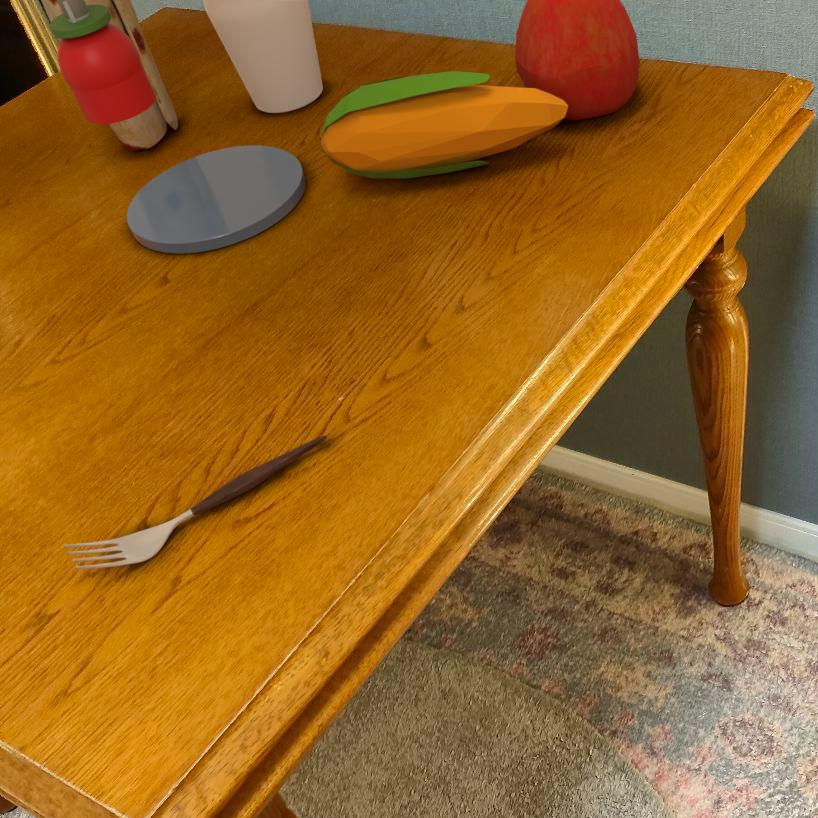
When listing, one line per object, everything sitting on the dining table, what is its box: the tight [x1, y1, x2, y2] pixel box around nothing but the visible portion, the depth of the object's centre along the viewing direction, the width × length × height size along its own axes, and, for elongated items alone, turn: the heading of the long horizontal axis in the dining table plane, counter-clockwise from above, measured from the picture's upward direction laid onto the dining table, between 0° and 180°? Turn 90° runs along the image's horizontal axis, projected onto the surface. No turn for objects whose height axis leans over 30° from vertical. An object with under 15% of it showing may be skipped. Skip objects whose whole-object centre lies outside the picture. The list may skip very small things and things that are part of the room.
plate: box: [126, 144, 307, 255], centre depth 84 cm, size 15×15×1 cm
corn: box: [319, 70, 568, 180], centre depth 79 cm, size 7×8×20 cm
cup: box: [202, 0, 324, 114], centre depth 91 cm, size 9×9×12 cm
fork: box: [64, 435, 328, 570], centre depth 59 cm, size 3×16×2 cm, turn 125°
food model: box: [40, 0, 179, 152], centre depth 87 cm, size 10×7×20 cm
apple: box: [514, 0, 641, 121], centre depth 82 cm, size 10×10×10 cm
